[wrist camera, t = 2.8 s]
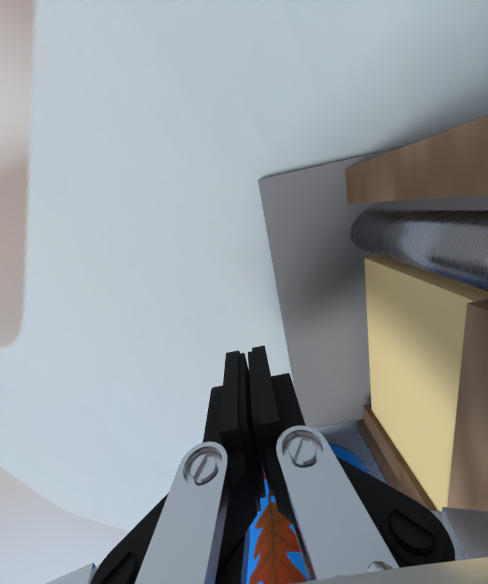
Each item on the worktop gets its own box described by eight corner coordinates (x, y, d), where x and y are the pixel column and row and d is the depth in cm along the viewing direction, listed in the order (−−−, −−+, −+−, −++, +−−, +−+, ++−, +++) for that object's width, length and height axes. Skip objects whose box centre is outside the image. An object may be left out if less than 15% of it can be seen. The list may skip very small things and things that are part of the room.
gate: (349, 214, 12) (511, 222, 5) (390, 205, 12) (617, 200, 5) (362, 421, 16) (458, 586, 9) (392, 416, 16) (513, 579, 9)
